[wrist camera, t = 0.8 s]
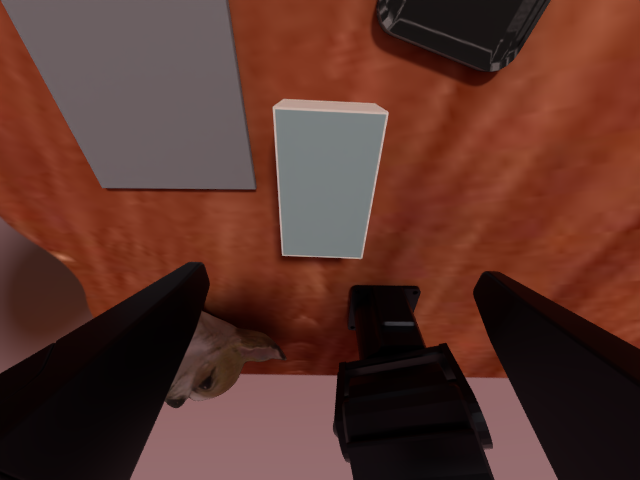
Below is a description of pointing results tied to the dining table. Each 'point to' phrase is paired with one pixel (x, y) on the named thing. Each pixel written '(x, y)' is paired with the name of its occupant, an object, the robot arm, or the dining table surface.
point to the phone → (464, 27)
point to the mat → (145, 88)
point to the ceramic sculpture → (217, 359)
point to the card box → (326, 174)
